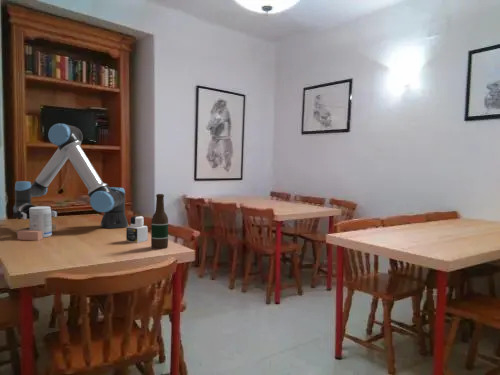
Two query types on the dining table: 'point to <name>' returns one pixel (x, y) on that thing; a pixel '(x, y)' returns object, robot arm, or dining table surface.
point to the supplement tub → (41, 220)
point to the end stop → (29, 235)
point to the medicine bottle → (137, 230)
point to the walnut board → (29, 228)
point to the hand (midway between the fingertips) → (41, 215)
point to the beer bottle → (159, 225)
